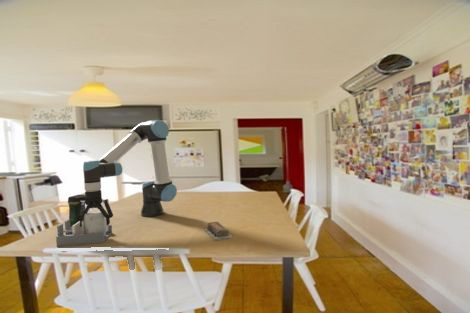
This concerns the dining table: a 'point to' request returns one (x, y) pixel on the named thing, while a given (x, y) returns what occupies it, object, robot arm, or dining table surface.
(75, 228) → the grey open holder
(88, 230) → the small box
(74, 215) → the coffee jar
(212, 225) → the packaged product
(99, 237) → the grey slotted tray
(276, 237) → the dining table surface
